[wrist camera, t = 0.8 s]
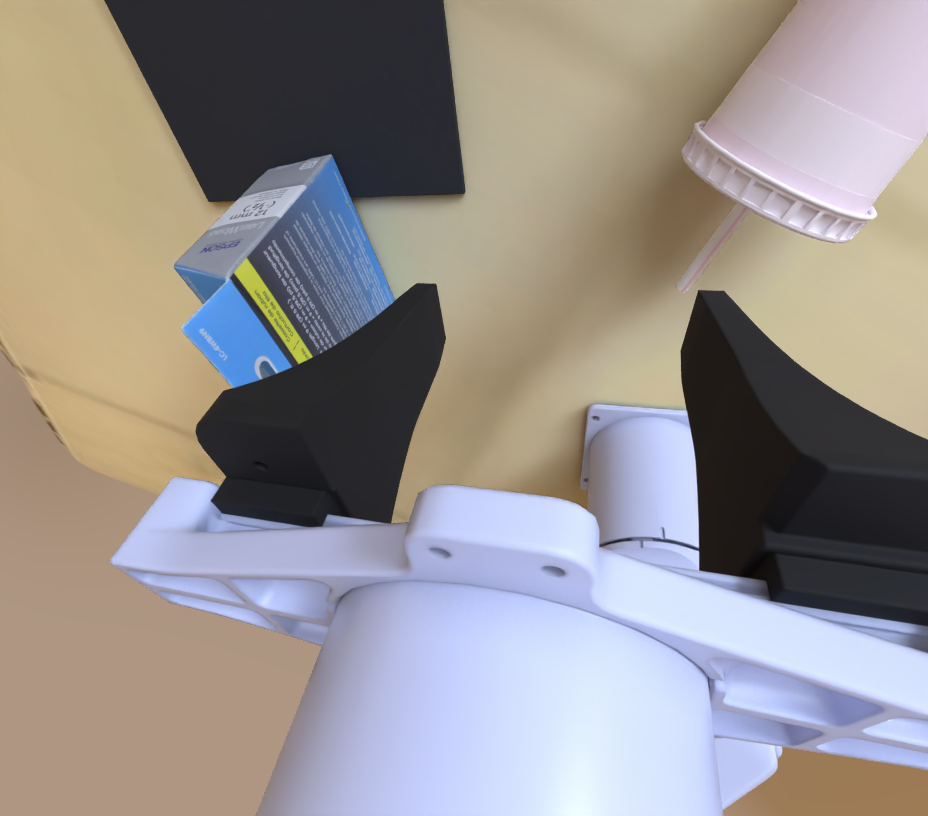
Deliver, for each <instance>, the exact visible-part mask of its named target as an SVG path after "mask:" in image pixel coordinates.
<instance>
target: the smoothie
mask: <svg viewBox="0 0 928 816" xmlns="http://www.w3.org/2000/svg"><path fill="white" fill-rule="evenodd" d="M927 134H928V0H799V1H798V2H797V4H796V5H795V6H794V8H793V9H792V10H791V12H790V13H789V14H788V16H787V17H786V18H785V20H784V21H783V22H782V24H781V25H780V26H779V28H778V29H777V30H776V32H775V33H774V34H773V36H772V37H771V38H770V40H769V41H768V42H767V44H766V45H765V46H764V47H763V49H762V50H761V51H760V53H759V54H758V55H757V57H756V58H755V59H754V61H753V62H752V63H751V64H750V65H749V67H748V68H747V69H746V71H745V72H744V74H743V75H742V76H741V78H740V79H739V80H738V82H737V83H736V84H735V86H734V87H733V89H732V90H731V91H730V93H729V94H728V95H727V97H726V98H725V99H724V101H723V102H722V104H721V105H720V106H719V108H718V109H717V110H716V112H715V113H714V114H713V115H712V117H711V118H710V119H709V120H708V121H699V122H697V123H695V124H694V130H693V132H692V133H691V135H690V137H689V138H688V140H687V142H686V143H685V145H684V147H683V148H682V150H681V154H682V158H683V160H684V161H685V163H686V164H687V166H688V167H689V168H690V169H691V170H692V171H693V172H694V173H695V174H696V175H697V176H699V177H700V178H701V179H702V180H704V181H705V182H706V183H707V184H709V185H710V186H712V187H713V188H714V189H716V190H717V191H719V192H720V193H722V194H723V195H725V196H726V197H728V198H730V199H731V200H733V201H734V202H736V204H735V205H734V207H733V208H732V209H731V211H730V212H729V213H728V215H727V216H726V218H725V219H724V220H723V222H722V223H721V224H720V226H719V227H718V228H717V230H716V231H715V232H714V234H713V235H712V236H711V238H710V239H709V241H708V242H707V243H706V245H705V246H704V247H703V249H702V250H701V251H700V253H699V254H698V255H697V257H696V258H695V259H694V261H693V262H692V263H691V265H690V266H689V268H688V269H687V270H686V272H685V273H684V274H683V276H682V277H681V278H680V280H679V281H678V282H677V284H676V285H675V287H676V288H677V289H678V290H679V291H681V292H683V293H687V292H688V290H689V289H690V288H691V286H692V285H693V284H694V283H695V281H696V280H697V279H698V277H699V276H700V275H701V273H702V272H703V271H704V270H705V268H706V267H707V266H708V264H709V263H710V262H711V260H712V259H713V258H714V257H715V255H716V254H717V253H718V251H719V250H720V249H721V248H722V246H723V245H724V244H725V242H726V241H727V240H728V238H729V237H730V236H731V235H732V233H733V232H734V231H735V229H736V228H737V227H738V225H739V224H740V223H741V222H742V220H743V219H744V218H745V216H746V215H747V214H748V212H749V211H752V212H754V213H755V214H757V215H759V216H761V217H763V218H765V219H767V220H769V221H771V222H773V223H776V224H778V225H780V226H782V227H785V228H787V229H789V230H792V231H794V232H797V233H799V234H802V235H805V236H807V237H811V238H814V239H817V240H821V241H826V242H831V243H845V242H848V241H850V240H851V239H852V238H853V237H854V236H855V235H856V234H857V233H858V232H859V231H860V230H861V229H862V228H863V227H864V226H865V225H866V224H867V223H868V222H869V221H870V220H872V219H874V218H876V217H877V213H876V211H875V208H874V207H873V206H872V204H873V203H874V202H875V201H876V199H877V198H878V197H879V195H880V194H881V192H882V191H883V190H884V189H885V187H886V186H887V185H888V184H889V182H890V181H891V180H892V179H893V177H894V176H895V175H896V174H897V173H898V171H899V170H900V169H901V168H902V166H903V165H904V164H905V163H906V161H907V160H908V159H909V158H910V156H911V155H912V154H913V153H914V151H915V150H916V149H917V148H918V147H919V145H920V144H921V142H922V141H923V139H924V138H925V137H926V136H927Z"/></svg>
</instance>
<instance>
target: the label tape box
mask: <svg viewBox="0 0 928 816" xmlns="http://www.w3.org/2000/svg"><path fill="white" fill-rule="evenodd" d="M174 269H175V270H176V271H177V272H178V274H179V275H180V276H181V277H182V279H183V280H184V281H185V282H186V284H187V285H188V286H189V287H190V288H191V290H192V291H193V292H194V293H195V294H196V296H197V297H198V298H199V299H200V301H201V302H202V303H203V305H202V306H201V307H200V308H199V309H198V311H196V312H195V313H194V314H193V316H192V317H191V318H190V319H189V320H188V321H187V322H186V323H185V324H184V325H183V326H182V328H181V331H182V332H183V334H184V335H185V336H186V337H187V338H188V339H189V340H190V341H191V342H192V343H193V344H194V345H195V346H196V347H197V348H198V349H199V350H200V351H201V352H202V353H203V354H204V356H205V357H206V358H207V359H208V360H209V362H210V363H211V364H212V365H213V366H214V367H215V368H216V370H217V371H218V372H219V373H220V374H221V375H222V376H223V378H224V379H225V380H226V381H227V382H228V384H229V385H230V386H231V387H232V388H235V387H238V386H242V385H245V384H248V383H251V382H254V381H258V380H260V379H263V378H266V377H269V376H271V375H274V374H277V373H279V372H282V371H284V370H286V369H289V368H291V367H294V366H296V365H298V364H300V363H302V362H304V361H306V360H308V359H310V358H312V357H314V356H316V355H318V354H320V353H322V352H324V351H326V350H327V349H329V348H331V347H332V346H334V345H336V344H337V343H339V342H341V341H342V340H344V339H345V338H347V337H348V336H350V335H351V334H353V333H354V332H356V331H357V330H358V329H360V328H361V327H362V326H364V325H365V324H366V323H368V322H369V321H371V320H372V319H373V318H375V317H376V316H377V315H378V314H380V313H381V312H382V311H383V310H384V309H386V308H387V307H388V306H389V305H391V304H392V303H393V302H394V301H395V300H394V298H393V295H392V293H391V291H390V288H389V286H388V284H387V281H386V279H385V277H384V274H383V272H382V270H381V267H380V265H379V263H378V260H377V258H376V256H375V253H374V251H373V249H372V246H371V244H370V242H369V239H368V237H367V235H366V232H365V230H364V228H363V226H362V223H361V221H360V219H359V216H358V214H357V212H356V209H355V207H354V205H353V202H352V200H351V198H350V195H349V193H348V191H347V188H346V186H345V184H344V181H343V179H342V177H341V174H340V172H339V170H338V168H337V165H336V163H335V161H334V158H333V156H332V155H330V154H329V155H325V156H321V157H316V158H311V159H308V160H305V161H301V162H297V163H293V164H289V165H284V166H279V167H276V168H273V169H269V170H267V171H266V172H265V173H264V174H263V175H262V176H261V177H259V178H258V179H257V180H256V181H255V182H254V183H253V184H252V185H251V187H250V188H249V189H248V190H247V191H246V192H245V193H244V194H243V195H242V196H241V197H240V198H239V199H238V200H237V201H236V202H235V203H234V204H233V205H232V206H231V207H230V208H229V209H228V210H227V211H226V212H225V213H224V214H223V215H222V216H221V217H220V218H219V219H218V220H217V221H216V222H215V223H214V224H213V225H212V226H211V227H210V228H209V229H208V230H207V231H206V232H205V233H204V234H203V235H202V236H201V237H200V238H199V239H198V240H197V241H196V242H195V243H194V244H193V246H192V247H190V248H189V249H188V250H187V251H186V252H185V253H184V254H183V255H182V256H181V257H180V258H179V259H178V260H177V261H176V262H175V264H174Z"/></svg>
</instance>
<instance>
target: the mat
mask: <svg viewBox="0 0 928 816" xmlns="http://www.w3.org/2000/svg"><path fill="white" fill-rule="evenodd" d="M105 2H106V4H107V6H108V8H109V10H110V12H111V14H112V16H113V18H114V20H115V22H116V24H117V26H118V27H119V29H120V31H121V33H122V35H123V37H124V39H125V41H126V43H127V45H128V47H129V49H130V51H131V53H132V55H133V56H134V58H135V60H136V62H137V64H138V66H139V68H140V70H141V72H142V74H143V76H144V78H145V80H146V82H147V84H148V85H149V87H150V89H151V91H152V93H153V95H154V97H155V99H156V101H157V103H158V105H159V107H160V109H161V111H162V112H163V114H164V116H165V118H166V120H167V122H168V124H169V126H170V128H171V130H172V132H173V134H174V136H175V138H176V140H177V141H178V143H179V145H180V147H181V149H182V151H183V153H184V155H185V157H186V159H187V161H188V163H189V165H190V167H191V169H192V170H193V172H194V174H195V176H196V178H197V180H198V182H199V184H200V186H201V188H202V190H203V192H204V194H205V196H206V198H207V199H208V201H209V202H217V201H237V200H238V199H239V198H240V197H241V196H242V195H243V194H244V193H245V192H246V191H247V190H248V189H249V188H250V187H251V185H252V184H253V183H254V182H255V181H256V180H257V179H258V178H259V177H261V176H262V175H263V174H264V173H265V172H266V171H267V170H269V169H273V168H276V167H279V166H284V165H289V164H293V163H297V162H301V161H305V160H308V159H311V158H316V157H321V156H325V155H329V154H330V155H332V156H333V158H334V161H335V163H336V165H337V168H338V170H339V172H340V174H341V177H342V179H343V181H344V184H345V186H346V188H347V191H348V193H349V195H350V197H380V196H413V195H445V194H464V193H465V184H464V175H463V166H462V158H461V149H460V140H459V132H458V123H457V115H456V106H455V97H454V89H453V80H452V72H451V63H450V54H449V46H448V37H447V28H446V20H445V11H444V3H443V0H105Z"/></svg>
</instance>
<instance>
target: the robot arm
mask: <svg viewBox="0 0 928 816" xmlns="http://www.w3.org/2000/svg"><path fill="white" fill-rule="evenodd" d="M445 340H446V336H445V331H444V325H443V319H442V314H441V308H440V302H439V297H438V291H437V285H436V284H424V283H417V284H415V285H414V286H413V287H411V288H410V289H409V290H407V291H406V292H405V293H404V294H403V295H401V296H400V297H399V298H398V299H397V300H395V301H394V302H393V303H392V304H391V305H389V306H388V307H387V308H386V309H384V310H383V311H382V312H381V313H380V314H378V315H377V316H376V317H375V318H373V319H372V320H371V321H369V322H368V323H366V324H365V325H364V326H362V327H361V328H360V329H358V330H357V331H356V332H354V333H353V334H351V335H350V336H348V337H347V338H345V339H344V340H342V341H341V342H339V343H337V344H336V345H334V346H332V347H331V348H329V349H327V350H326V351H324V352H322V353H320V354H318V355H316V356H314V357H312V358H310V359H308V360H306V361H304V362H302V363H300V364H298V365H296V366H294V367H291V368H289V369H286V370H284V371H282V372H279V373H277V374H274V375H271V376H269V377H266V378H263V379H260V380H258V381H254V382H251V383H248V384H245V385H242V386H238V387H235V388H232V389H228V390H225V391H223V392H222V393H221V395H220V396H219V397H218V398H217V400H216V401H215V402H214V403H213V405H212V406H211V407H210V409H209V410H208V411H207V412H206V414H205V415H204V416H203V417H202V419H201V420H200V421H199V423H198V424H197V426H196V435H197V438H198V441H199V443H200V444H201V446H202V447H203V449H204V450H205V451H206V453H207V454H208V455H209V456H210V457H211V459H212V460H213V461H214V462H215V463H216V465H217V466H218V467H219V468H220V469H221V471H222V472H223V473H224V474H225V475H226V479H225V480H224V482H223V483H222V485H221V486H220V487H219V486H218V485H216V484H214V483H212V482H209V481H204V480H197V479H190V478H183V477H173V478H172V479H171V481H170V482H169V483H168V484H167V486H166V487H165V488H164V490H163V491H162V492H161V494H160V495H159V496H158V498H157V499H156V500H155V502H154V503H153V504H152V506H151V507H150V508H149V510H148V511H147V512H146V513H145V515H144V516H143V517H142V519H141V520H140V521H139V523H138V524H137V525H136V527H135V528H134V529H133V531H132V532H131V533H130V535H129V536H128V537H127V539H126V540H125V541H124V543H123V544H122V545H121V547H120V548H119V549H118V550H117V552H116V553H115V554H114V556H113V557H112V558H111V560H110V561H111V564H112V565H113V566H115V567H116V568H118V569H119V570H121V571H122V572H124V573H125V574H127V575H128V576H130V577H131V578H133V579H134V580H136V581H138V582H139V583H140V584H142V585H143V586H145V587H146V588H148V589H150V590H151V591H152V592H154V593H155V594H157V595H158V596H160V597H161V598H163V599H164V600H166V601H167V602H169V603H171V604H176V605H180V606H184V607H189V608H193V609H197V610H202V611H206V612H209V613H213V614H216V615H220V616H224V617H228V618H231V619H234V620H238V621H241V622H245V623H248V624H251V625H255V626H258V627H261V628H264V629H268V630H271V631H274V632H278V633H281V634H284V635H287V636H291V637H294V638H297V639H300V640H303V641H307V642H310V643H313V644H316V645H320V646H322V648H321V650H320V653H319V655H318V658H317V661H316V663H315V665H314V668H313V671H312V674H311V676H310V678H309V681H308V683H307V686H306V688H305V691H304V694H303V696H302V699H301V701H300V704H299V706H298V709H297V712H296V714H295V717H294V719H293V722H292V724H291V727H290V730H289V732H288V734H287V737H286V739H285V742H284V745H283V747H282V750H281V752H280V755H279V757H278V760H277V763H276V765H275V768H274V770H273V773H272V775H271V778H270V781H269V783H268V785H267V788H266V791H265V793H264V796H263V798H262V801H261V803H260V806H259V808H258V811H257V813H256V816H723V810H724V809H725V808H727V807H728V806H729V805H731V804H732V803H733V802H735V801H737V800H738V799H739V798H741V797H742V796H744V795H745V794H746V793H748V792H749V791H751V790H752V789H754V788H755V787H757V786H758V785H759V784H761V783H762V782H764V781H765V780H767V779H768V778H769V777H770V776H771V775H772V774H773V773H775V771H776V770H777V765H778V764H777V758H779V757H780V756H781V755H782V747H788V748H794V749H801V750H807V751H813V752H820V753H826V754H833V755H840V756H846V757H853V758H859V759H865V760H871V761H877V762H884V763H889V764H896V765H902V766H907V767H913V768H918V769H924V770H928V440H927V439H925V438H923V437H920V436H918V435H916V434H914V433H911V432H909V431H907V430H905V429H903V428H901V427H899V426H897V425H895V424H893V423H891V422H889V421H887V420H885V419H883V418H881V417H879V416H878V415H876V414H874V413H872V412H870V411H868V410H866V409H865V408H863V407H861V406H859V405H858V404H856V403H854V402H853V401H851V400H850V399H848V398H846V397H845V396H843V395H841V394H840V393H838V392H836V391H835V390H833V389H832V388H830V387H829V386H827V385H826V384H824V383H823V382H822V381H820V380H819V379H817V378H816V377H815V376H813V375H812V374H811V373H809V372H808V371H806V370H805V369H804V368H802V367H801V366H800V365H799V364H797V363H796V362H795V361H794V360H793V359H791V358H790V357H789V356H788V355H787V354H786V353H785V352H783V351H782V350H781V349H780V348H779V347H778V346H777V345H776V344H774V343H773V342H772V341H771V340H770V339H769V338H768V337H767V336H766V335H765V334H764V333H763V332H762V331H761V330H760V329H759V328H758V327H757V326H756V325H755V324H754V323H753V322H752V321H751V320H750V319H749V317H748V316H747V315H746V314H745V313H744V312H743V311H742V310H741V309H740V308H739V307H738V305H737V304H736V303H735V302H734V301H733V300H732V299H731V298H730V297H729V296H728V295H727V294H726V293H725V291H706V290H698V293H697V297H696V300H695V304H694V307H693V310H692V314H691V317H690V321H689V324H688V327H687V331H686V334H685V338H684V341H683V345H682V348H681V379H682V387H683V393H684V398H685V404H686V409H687V411H682V410H669V409H655V408H641V407H628V406H614V405H600V404H593V405H591V406H589V408H588V413H587V422H586V432H585V441H584V450H583V459H582V469H581V478H580V488H581V489H582V490H585V491H588V499H587V510H586V509H584V508H583V507H581V506H580V505H578V504H577V503H574V502H570V501H567V500H563V499H559V498H556V497H549V496H541V495H533V494H526V493H518V492H510V491H502V490H494V489H486V488H478V487H470V486H462V485H454V484H451V485H433V486H431V487H429V488H427V489H425V490H423V491H422V492H420V493H418V496H417V499H416V502H415V505H414V508H413V511H412V514H411V517H410V520H409V522H406V523H391V521H392V516H393V511H394V506H395V501H396V497H397V492H398V488H399V483H400V479H401V475H402V471H403V467H404V463H405V459H406V455H407V452H408V448H409V445H410V441H411V437H412V434H413V431H414V428H415V425H416V422H417V419H418V417H419V414H420V412H421V410H422V407H423V405H424V402H425V400H426V397H427V395H428V392H429V390H430V388H431V385H432V383H433V380H434V378H435V375H436V373H437V370H438V367H439V365H440V361H441V357H442V353H443V349H444V344H445ZM593 416H597V417H593Z"/></svg>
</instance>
